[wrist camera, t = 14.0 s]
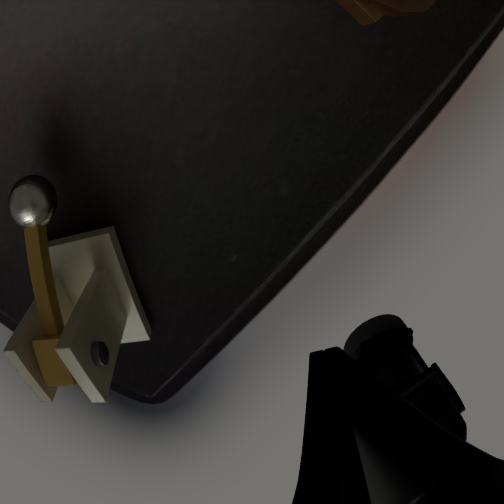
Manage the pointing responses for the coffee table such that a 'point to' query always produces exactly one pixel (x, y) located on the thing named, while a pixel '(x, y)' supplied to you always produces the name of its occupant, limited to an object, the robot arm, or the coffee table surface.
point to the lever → (41, 270)
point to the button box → (382, 8)
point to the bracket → (84, 314)
